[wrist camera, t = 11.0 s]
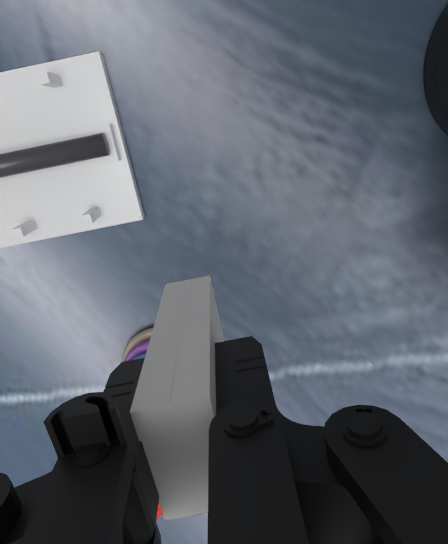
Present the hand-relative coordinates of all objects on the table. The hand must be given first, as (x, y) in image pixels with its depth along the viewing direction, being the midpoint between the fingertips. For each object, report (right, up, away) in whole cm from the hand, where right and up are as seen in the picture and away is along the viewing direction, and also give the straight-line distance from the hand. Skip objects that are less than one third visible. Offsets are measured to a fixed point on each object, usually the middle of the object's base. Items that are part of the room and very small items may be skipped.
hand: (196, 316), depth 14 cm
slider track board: (-21, +11, +24) cm, 33 cm away
